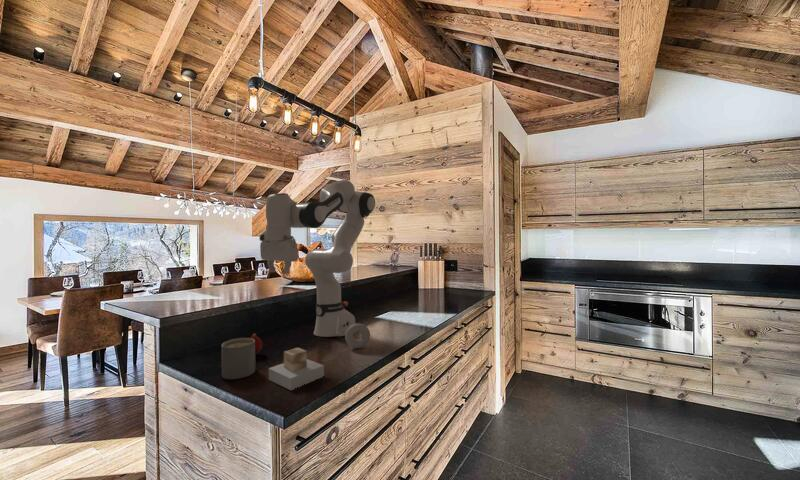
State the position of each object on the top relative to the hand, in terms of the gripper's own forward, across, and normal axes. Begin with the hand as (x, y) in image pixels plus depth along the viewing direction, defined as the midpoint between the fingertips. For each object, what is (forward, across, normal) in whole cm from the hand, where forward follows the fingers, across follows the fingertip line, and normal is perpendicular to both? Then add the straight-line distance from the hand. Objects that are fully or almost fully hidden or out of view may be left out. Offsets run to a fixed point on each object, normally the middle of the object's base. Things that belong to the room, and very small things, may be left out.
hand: (279, 272), depth 122 cm
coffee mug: (+31, -2, +16) cm, 35 cm away
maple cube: (+28, -22, +8) cm, 36 cm away
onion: (+31, +8, +6) cm, 33 cm away
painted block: (+32, -22, +8) cm, 39 cm away
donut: (+31, -18, -23) cm, 43 cm away
